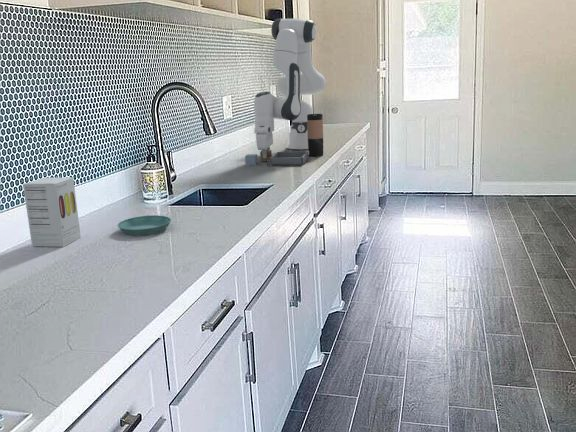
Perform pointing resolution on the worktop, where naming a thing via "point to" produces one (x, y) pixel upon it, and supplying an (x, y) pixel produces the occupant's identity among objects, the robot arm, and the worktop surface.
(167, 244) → the worktop surface
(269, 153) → the walnut block
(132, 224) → the saucer
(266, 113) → the robot arm
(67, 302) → the worktop surface
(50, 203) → the supplement box
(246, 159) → the slate block
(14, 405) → the worktop surface
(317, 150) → the travel mug
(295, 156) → the charcoal tray
